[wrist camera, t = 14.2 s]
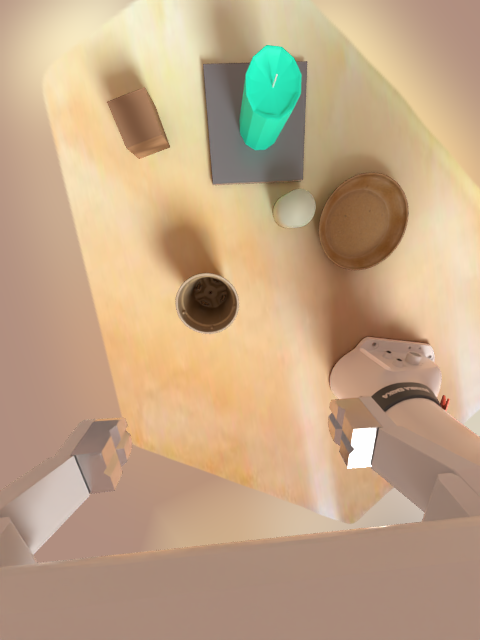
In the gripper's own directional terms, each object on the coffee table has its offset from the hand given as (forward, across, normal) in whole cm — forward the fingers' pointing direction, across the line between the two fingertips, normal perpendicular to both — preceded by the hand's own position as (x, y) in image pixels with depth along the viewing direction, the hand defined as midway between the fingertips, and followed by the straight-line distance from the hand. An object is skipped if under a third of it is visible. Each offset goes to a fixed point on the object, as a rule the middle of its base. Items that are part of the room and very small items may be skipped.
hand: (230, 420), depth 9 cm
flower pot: (+35, +3, +3) cm, 36 cm away
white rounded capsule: (+35, -11, -10) cm, 38 cm away
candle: (+34, -6, -21) cm, 41 cm away
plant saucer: (+36, -23, -7) cm, 43 cm away
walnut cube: (+35, +10, -21) cm, 42 cm away
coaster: (+35, -6, -21) cm, 41 cm away
